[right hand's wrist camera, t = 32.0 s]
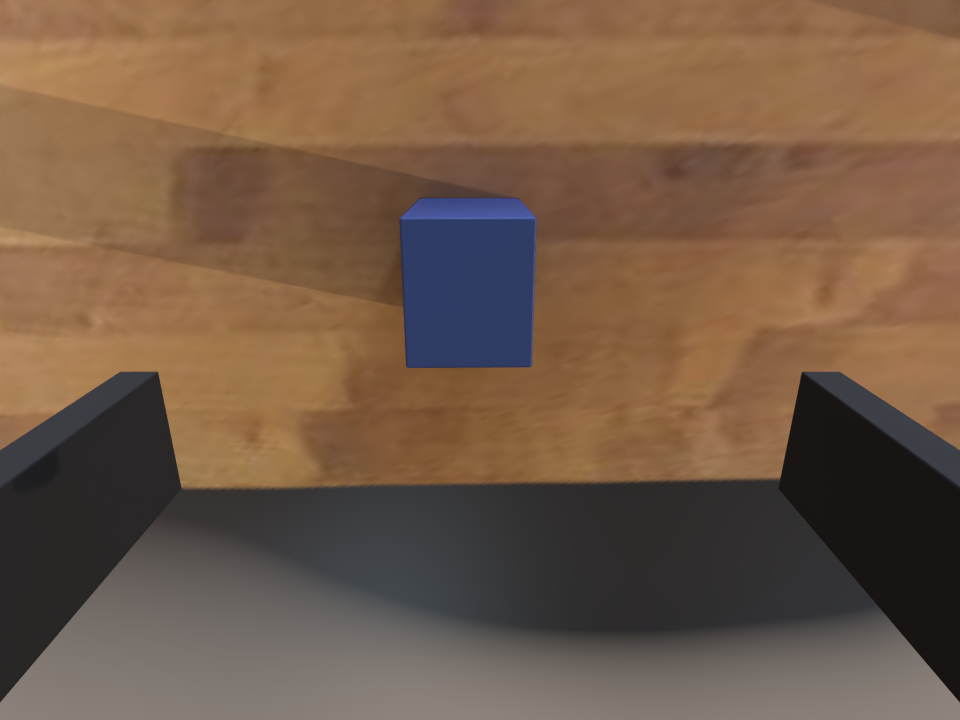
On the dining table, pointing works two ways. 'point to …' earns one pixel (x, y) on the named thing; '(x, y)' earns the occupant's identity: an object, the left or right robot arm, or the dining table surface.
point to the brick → (468, 282)
